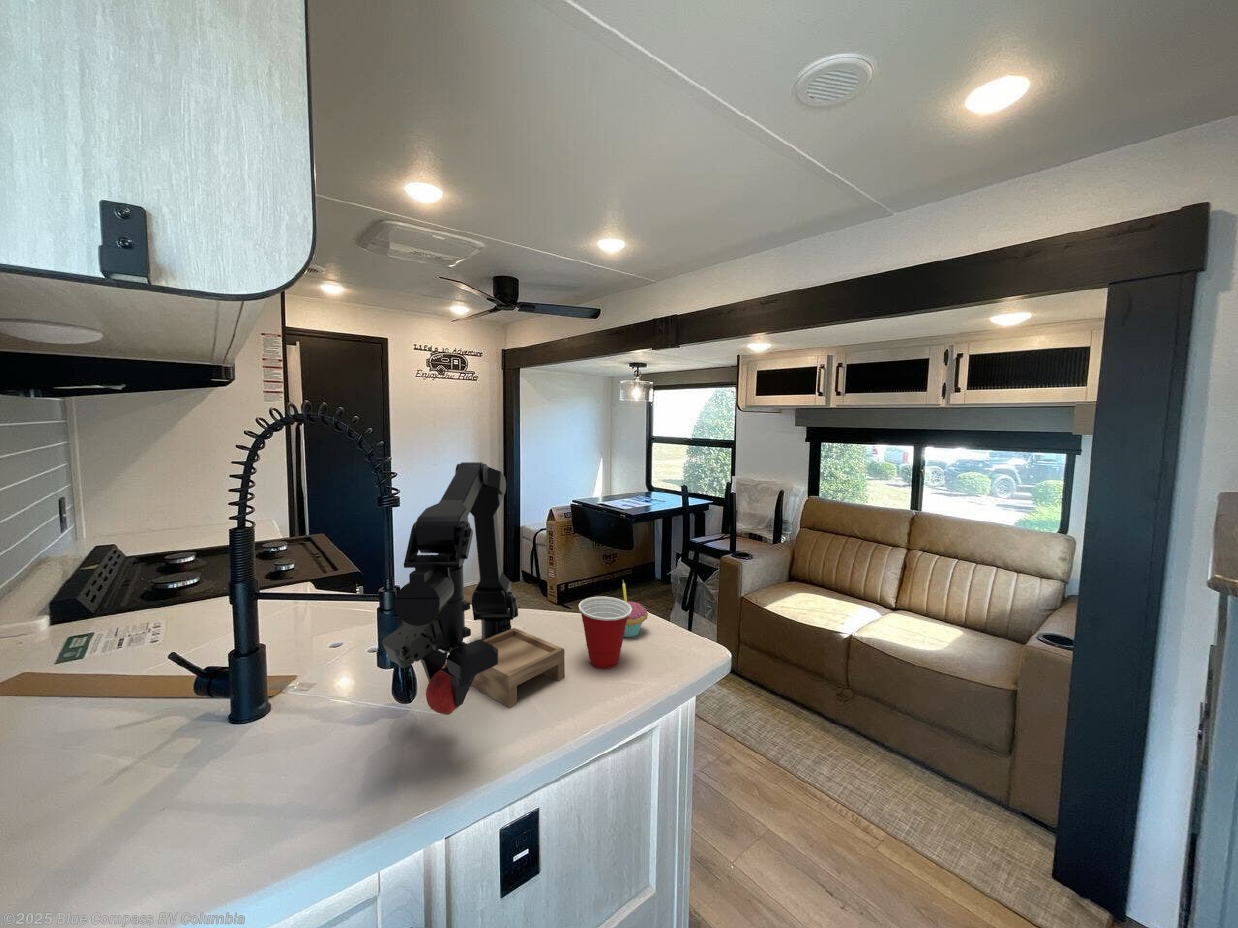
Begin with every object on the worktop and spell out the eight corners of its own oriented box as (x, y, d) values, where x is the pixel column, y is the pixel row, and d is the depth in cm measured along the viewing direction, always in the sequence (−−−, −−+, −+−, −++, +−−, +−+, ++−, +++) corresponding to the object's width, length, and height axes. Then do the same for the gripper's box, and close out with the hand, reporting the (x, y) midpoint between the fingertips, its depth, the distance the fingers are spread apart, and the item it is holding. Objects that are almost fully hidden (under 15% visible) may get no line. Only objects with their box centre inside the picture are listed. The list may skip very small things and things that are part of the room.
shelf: (459, 678, 93) (459, 649, 93) (514, 653, 103) (514, 627, 103) (509, 708, 84) (508, 675, 83) (564, 677, 94) (564, 648, 93)
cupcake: (603, 632, 114) (602, 581, 113) (629, 622, 120) (629, 574, 119) (628, 644, 108) (628, 591, 107) (655, 633, 113) (655, 582, 112)
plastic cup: (619, 680, 93) (619, 619, 92) (569, 669, 97) (568, 610, 96) (639, 655, 103) (640, 599, 102) (593, 646, 107) (592, 592, 106)
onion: (444, 730, 70) (442, 677, 70) (418, 718, 73) (416, 666, 73) (475, 710, 75) (474, 660, 75) (450, 699, 78) (449, 651, 78)
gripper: (359, 598, 73) (364, 698, 74) (425, 633, 61) (429, 752, 62) (430, 579, 81) (433, 669, 83) (499, 606, 69) (501, 711, 71)
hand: (446, 697), depth 74 cm, fingers closed on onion, 6 cm apart
